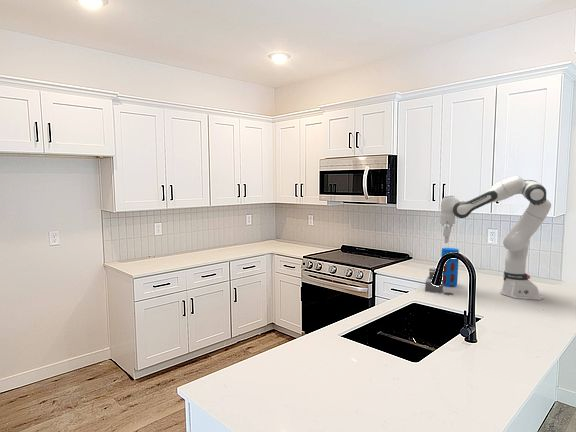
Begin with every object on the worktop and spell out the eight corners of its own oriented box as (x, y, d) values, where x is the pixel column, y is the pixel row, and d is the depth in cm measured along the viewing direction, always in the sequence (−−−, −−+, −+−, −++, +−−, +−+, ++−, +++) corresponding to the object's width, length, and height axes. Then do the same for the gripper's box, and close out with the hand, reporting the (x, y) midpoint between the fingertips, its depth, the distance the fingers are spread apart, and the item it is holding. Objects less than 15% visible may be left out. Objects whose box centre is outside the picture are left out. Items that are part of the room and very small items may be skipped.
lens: (433, 280, 256) (433, 267, 255) (439, 281, 251) (439, 269, 250) (427, 281, 254) (427, 268, 253) (433, 282, 249) (433, 270, 248)
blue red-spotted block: (459, 287, 262) (461, 250, 260) (443, 287, 263) (445, 250, 261) (453, 283, 273) (454, 247, 271) (437, 283, 273) (439, 247, 271)
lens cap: (453, 294, 246) (453, 293, 246) (453, 296, 241) (453, 295, 241) (444, 293, 248) (444, 292, 248) (443, 295, 243) (443, 294, 243)
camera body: (442, 289, 255) (443, 277, 254) (441, 293, 247) (442, 280, 246) (426, 288, 259) (426, 276, 259) (425, 291, 251) (425, 278, 250)
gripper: (452, 222, 243) (451, 244, 244) (453, 220, 261) (452, 240, 262) (441, 221, 245) (440, 243, 246) (443, 219, 264) (442, 239, 265)
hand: (446, 242), depth 255 cm, fingers open, 8 cm apart
